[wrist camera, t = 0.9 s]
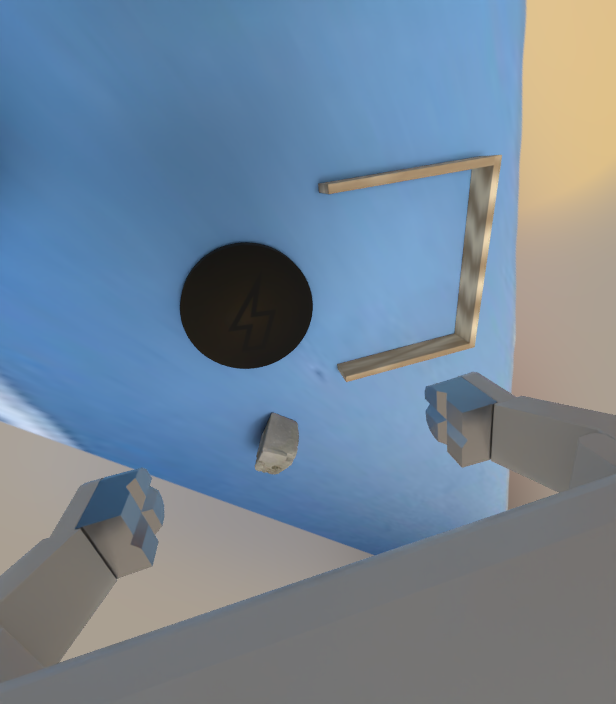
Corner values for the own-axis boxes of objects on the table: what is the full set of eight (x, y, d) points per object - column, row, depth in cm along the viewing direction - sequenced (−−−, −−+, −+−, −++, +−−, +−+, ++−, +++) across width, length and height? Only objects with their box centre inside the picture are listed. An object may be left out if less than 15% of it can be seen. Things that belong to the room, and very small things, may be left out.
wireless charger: (291, 224, 43) (294, 226, 41) (320, 339, 52) (324, 345, 50) (156, 265, 41) (154, 269, 39) (211, 377, 50) (211, 384, 48)
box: (318, 183, 41) (328, 184, 37) (479, 156, 44) (501, 154, 41) (337, 369, 55) (346, 382, 51) (459, 337, 58) (474, 347, 55)
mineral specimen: (253, 409, 53) (271, 444, 47) (295, 414, 59) (316, 445, 53) (236, 444, 56) (252, 481, 50) (279, 445, 61) (297, 479, 55)
